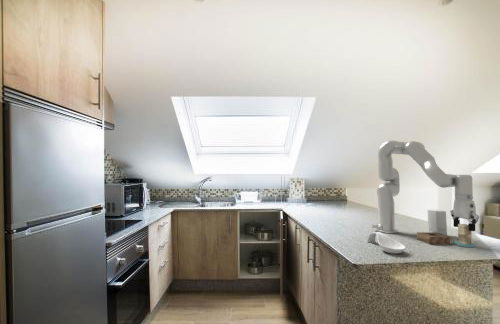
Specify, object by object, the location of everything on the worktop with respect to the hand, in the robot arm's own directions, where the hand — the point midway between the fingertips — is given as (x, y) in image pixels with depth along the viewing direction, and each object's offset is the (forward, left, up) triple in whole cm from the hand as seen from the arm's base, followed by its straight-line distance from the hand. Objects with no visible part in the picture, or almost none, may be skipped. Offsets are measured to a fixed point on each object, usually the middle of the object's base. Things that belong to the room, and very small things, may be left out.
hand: (464, 228), depth 142 cm
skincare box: (+1, +21, -9) cm, 23 cm away
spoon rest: (-47, -4, -9) cm, 48 cm away
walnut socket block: (-12, +7, -9) cm, 16 cm away
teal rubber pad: (0, 0, -9) cm, 9 cm away
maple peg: (0, 0, -8) cm, 8 cm away
